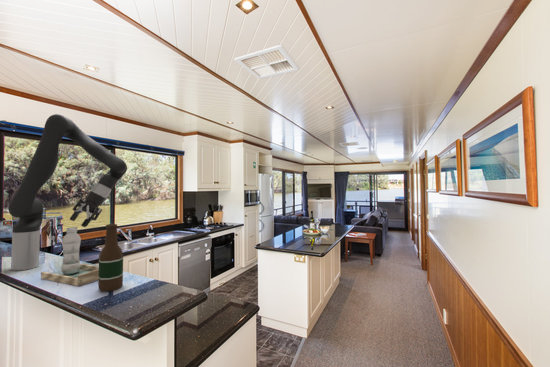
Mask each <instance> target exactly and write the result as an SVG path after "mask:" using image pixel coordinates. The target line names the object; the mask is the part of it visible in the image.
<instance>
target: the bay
mask: <svg viewBox="0 0 550 367" xmlns="http://www.w3.org/2000/svg"><path fill="white" fill-rule="evenodd" d="M80 264H81V268H80V270H79V272H77V273H74V274H69V275H64V274H63V273H62V272H60V273H53V272H48V271H41V272H40V279H41V278H42V279H43V280H46V279H47V280H48V281H51V280H52V282H57V283H61V284H66V285H71V286H76V287H80V286H84V285H87V284H90V283H93V282H95V281H98V275H99V265H93V264H92V265H91V264H87V263H81V262H80Z"/></svg>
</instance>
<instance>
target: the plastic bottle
mask: <svg viewBox="0 0 550 367" xmlns="http://www.w3.org/2000/svg"><path fill="white" fill-rule="evenodd" d="M65 232H66V234H65V235H64V237H62V239H61V246H62V253H63V258H62V264H61V268H60V270H61V273H63V274H64V275H69V274H74V273H77V272H79V270H80V268H81V264H82V263H81V262H80V246H81V241H82V238H81V236H80V235H79V233H77V232H78V227H77V226H73V227H66V231H65ZM80 263H81V264H80Z"/></svg>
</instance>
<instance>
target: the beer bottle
mask: <svg viewBox="0 0 550 367" xmlns="http://www.w3.org/2000/svg"><path fill="white" fill-rule="evenodd" d="M105 228H106V231H105V243H104V246H103V248H102V249H101V250H100V253H99V254H98V266H99V275H98V280H97V281H98V284H97V285H98V290H99V292H100V293H101V292H103V293H104V292H105V293H108V292H113V291H116V290H119V289H121V287H123V282H124V281H123V280H124V252H123V250H122V248H121V247H120V245H119V243H118V242H119V241H118V229H117V228H118V224H117V223H108V224H106V226H105Z"/></svg>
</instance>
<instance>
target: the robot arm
mask: <svg viewBox="0 0 550 367" xmlns="http://www.w3.org/2000/svg"><path fill="white" fill-rule="evenodd" d="M63 137H65V138H67V139H69V140H71V141H73V142H74V143H76V144H77V145H78V146H80V147H81V148H82V149H83V150H84V151H85V152H86V153H87V154H89V156H91V157H92V158H94V159H95V160H97V161H98V162H99V163H101V164H103V165H105V166H106V167H107V168H109V169H108V171H107V173H104V174H103V175H102V176H101V177H100V179H99V180H97V183H96V184H94V186H93V187H92V188H91V189H90V191H89V193H88V194H86V196H85V200H84V199H79V200H78V202H76V204H75V205H74V207H72V211H73V213H72V215H71V216H70V218H69V220H70V221H73V222H75V221H76V219H77V218H78V217H79V215H80V214H82V213H85V214H86V218H84V221H83V222H82V223H81V224H80V227H84V228H87V227H88V225H89V224H90V222H92V221H96V220H97V219H98V217H99V216H100V215H101V213H102V212H103V209H102V208H100V207H101V206H103V203H104V202H105V201H106V199H107V198H108V196H109V195H110V193H111V191H112V190H113V189H114V187H115V186H116V184H117V182H118V181H120V180H121V179H122V177H124V175H125V174H126V172H127V171H128V165H127V163H126V162H125V161H124V160H123V159H122V158H121V157H119V156H117V155H116V154H114V153H112V152H111V151H110V150H109V149H107V148H106V147H105V146H103V145H102V144H100V143H99V142H97V141H96V140H94V139H93V138H92V137H90V136H89V135H88V134H86V133H85V132H84V131H83V130H82V129H80V127H79V126H78V125H77V124H76V123H75V122H74V121H73V120H72V119H70V118H69V117H66V116H64V115H62V114H58V113H55V114H52V115H50V116H49V117H48V118H47V119H46V121H45V124H44V127H43V130H42V135H41V137H40V140H39V143H38V145H37V147H36V149H35V152H34V154H33V156H32V157H31V160H30V162H29V165H28V167H27V170H26V172H25V174H24V176H23V179H22V181H21V183H20V184H19V187H18V189H17V191H16V192H15V194H14V196H12V199H11V200H10V202H9V205H8V213H9V214H10V215H11V217H13V218H16V219H18V218H19V220H18V221H17V223H16V224H15V225H13V226H12V228H11V229H12V230H11V231H12V232H11V233H12V234H11V235H12V237H11V271H15V272H18V271H25V270H30V269H34V268H38V267H39V266H40V238H41V237H40V236H41V235H40V234H41V233H40V232H41V231H40V230H41V226H42V223H43V217H44V215H43V214H44V205H43V202H42V200H41V199H40V198H37V195H38V193H39V191H40V189H41V188H42V187H43V186H44V185H45V184H46V183H48V181H49V180H50V179H51V178H52V176H53V174H54V173H55V171H56V168H57V166H58V164H59V155H60V154H59V149H60V148H59V147H60V144H61V141H62V140H63ZM99 206H100V207H99Z"/></svg>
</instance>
